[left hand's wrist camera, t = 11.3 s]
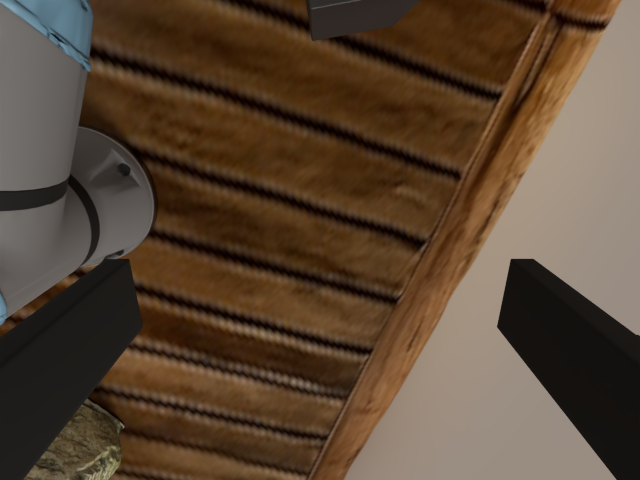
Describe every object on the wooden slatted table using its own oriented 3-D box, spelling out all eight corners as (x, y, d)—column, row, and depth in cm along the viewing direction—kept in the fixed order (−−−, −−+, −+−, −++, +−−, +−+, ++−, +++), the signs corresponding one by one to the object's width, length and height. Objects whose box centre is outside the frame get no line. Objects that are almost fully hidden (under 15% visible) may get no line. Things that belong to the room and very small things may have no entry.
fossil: (129, 450, 56) (65, 568, 42) (4, 412, 53) (-110, 524, 39) (145, 409, 53) (81, 521, 39) (12, 367, 50) (-107, 470, 36)
